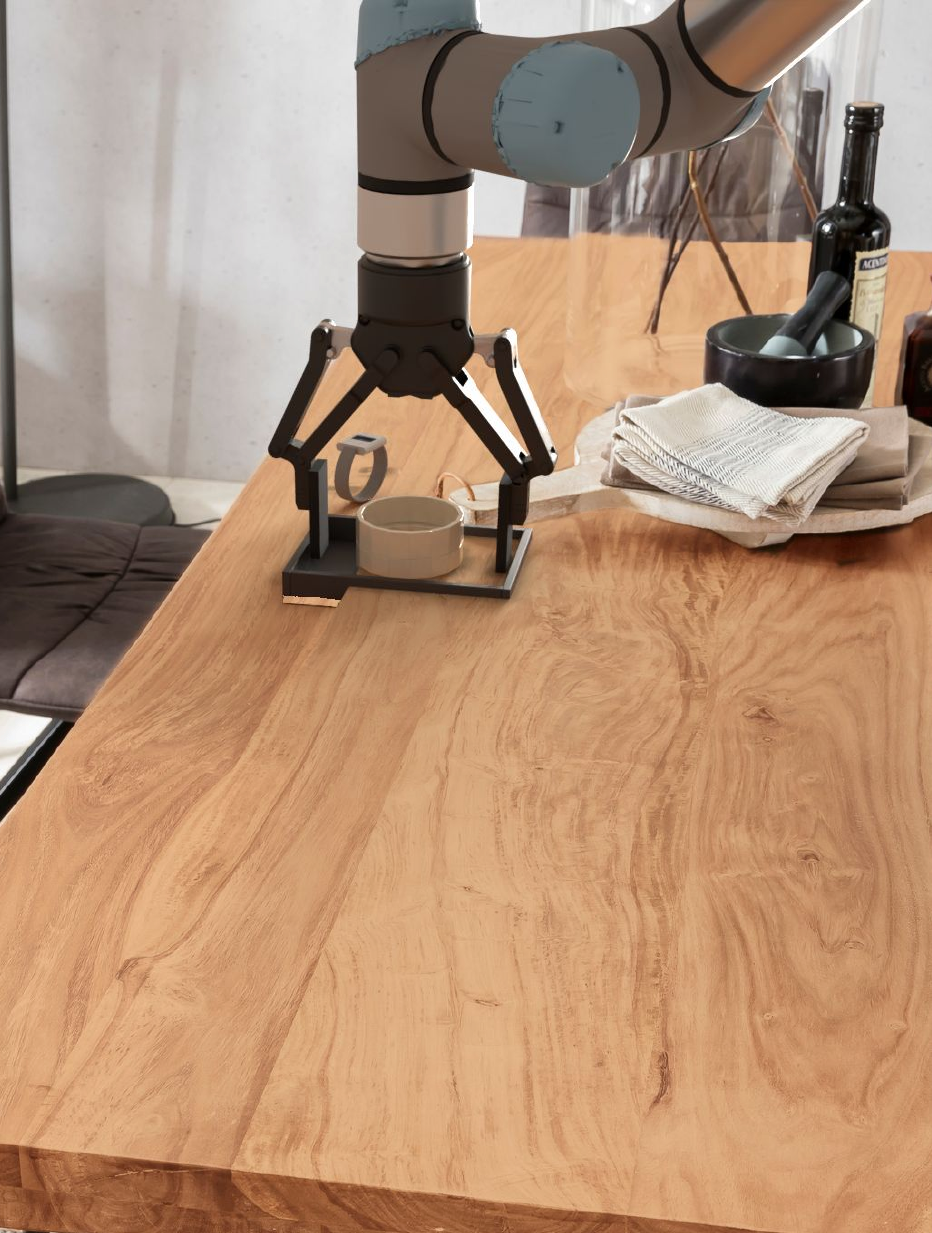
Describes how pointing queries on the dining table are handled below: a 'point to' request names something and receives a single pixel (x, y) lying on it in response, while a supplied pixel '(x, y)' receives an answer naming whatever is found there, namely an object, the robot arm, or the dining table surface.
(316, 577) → the tray frame
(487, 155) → the robot arm
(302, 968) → the dining table surface
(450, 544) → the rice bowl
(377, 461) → the wristwatch
